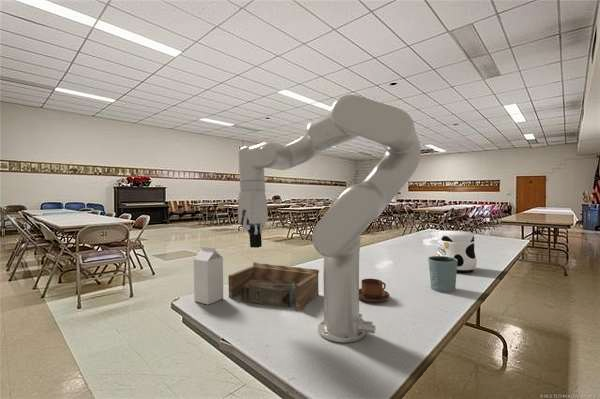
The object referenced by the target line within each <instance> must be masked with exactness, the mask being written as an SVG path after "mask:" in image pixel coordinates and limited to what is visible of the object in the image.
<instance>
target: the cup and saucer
mask: <svg viewBox="0 0 600 399" xmlns="http://www.w3.org/2000/svg"><path fill="white" fill-rule="evenodd" d="M360 282H361V286H360V287H361V288H359V300H362V301H365V302H370V303H380V302H381V303H382V302H385V301H387V300H388V299H389V298H390V293H389V292H388V291H386V290H385V289H386V287H387V286H386V283H385V282H383V281H382V280H380V279H377V278H363V279H361V280H360Z"/></svg>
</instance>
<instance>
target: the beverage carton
mask: <svg viewBox="0 0 600 399" xmlns="http://www.w3.org/2000/svg"><path fill="white" fill-rule="evenodd" d="M296 285H297V284H288V283H280V282H271V281H261V280H250V281H248V282H246V283H245V284H244V285H242V286H241V293H240V295H241V298H240V299H241V302H243V303H252V304H257V305H258V304H259V305H268V306H276V307H285V308H286V307H287V308H291V307H293V305H294V304H296Z"/></svg>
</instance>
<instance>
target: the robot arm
mask: <svg viewBox="0 0 600 399" xmlns="http://www.w3.org/2000/svg"><path fill="white" fill-rule="evenodd" d="M357 137H362V138H364V139H366V140H369V141H372V142H373V143H374V142H375V143H377V144H380V145H381V146H382V147H383V148H384V149H385V153H384V156H383V158H382V159H381V160H379V162H378V163H377V164H376V165H375V166H374V168H373V169H372V170H371V171H370V172H369V174H368V175H367V176H366V177H365V178H364V179H363V180H362V181H361V183H355V184H352V185H350V186H348V187H347V188H346V189H345V190H343V191H342V193H340V195H339V196H338V198H336V200H335V201H334V202H333V203H332V205H331V206H330V207H329V208H328V209H327V211H326V212H325V213H324V214H323V216H322V217H321V218H320V219H319V220H318V222H317V223H316V225H315V226H314V228H313V230H312V233H311V234H312V235H311V239H312V240H311V241H312V244H313V246H314V249H315V250H316V251H317V253H318V254H320V255H321V256H323V320H322V321H321V322H320V323H319V324H318V327H317V330H318V333H319V335H321V337H322V338H324V339H326V340H328V341H331V342H336V343H353V342H357V341H360V340H361V339H363V338H364V337H365V335H366V332H367V333H370V334H376V329H377V328H376V325H374V322H373V321H369V320H364V319H363V313H360V299H359V289H360V251H361V238H362V236H361V234H362V233H363V232H364V231H365V230H366V229H367V228H368V227H369V226H370V224H371V223H373V221H374V220H376V219H377V218H379V217H380V216H381V215H382V214H383V212H384V211H385V209H386V207H387V206H388V205H389V204H390V203H391V201H393V199H394V198H395V197H396V196H397V195H398V194H399V192H400V191H401V190H402V189H403V187H405V185H406V184H407V183H408V181H409V180H410V179H411V178H412V176H413V175H414V174H415V172H416V170H417V168H418V167H419V163H420V159H421V153H422V152H421V143H420V139H419V137H418V134H417V132H416V128H415V123H414V121H413V118H412V117H411V115H410V114H409V113H408V112H406V111H405V110H403V109H402V108H398V107H396V106H393V105H390V104H386V103H384V102H383V103H382V102H380V101H376V100H374V99H370V98H368V97H363V96H361V95H357V94H346V95H342V96H341V97H339V98H337V99H336V100H335V101H334V103H333V104H332V105H331V108H330V113H327V115H324V116H322V117H319V118H317V119H314V120H313V121H311V122H309V123H308V124H307V126H306V130H305V133H304V134H303V136H301V137H300V138H299V139H296V140H294V141H293V142H290V143H288V144H285V145H281V144H278V143H275V142H273V141H265V142H262V143H258V144H255V145H249V146H243V147H240V148H239V150H238V170H239V172H238V173H239V188H240V189H239V190H240V192H239V194H238V200H237V201H238V202H237V203H238V204H237V222H238V224H239V225H240V226H242V230H244V231H247V234H248V235H249V246H250V249H251V248H255V249H258V248H261V247H263V246H262V245H263V244H262V242H263V241H262V234H263V228H264V227H265V226H267V224H266V222H267V221H268V219H269V216H268V215H269V212H268V203H267V196H266V181H265V169H271V170H277V171H285V170H290V169H292V168H295V167H297V166H299V165H302V164H305V163H306V162H308V161H310V160H312V159H313V158H315V157H316V156H317V155H319V154H321V153H322V152H323V151H326V150H329V149H330V148H331V149H332V148H333V147H336V146H338V145H341V144H343V143H345V142H348V141H350V140H353V139H355V138H357Z"/></svg>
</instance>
